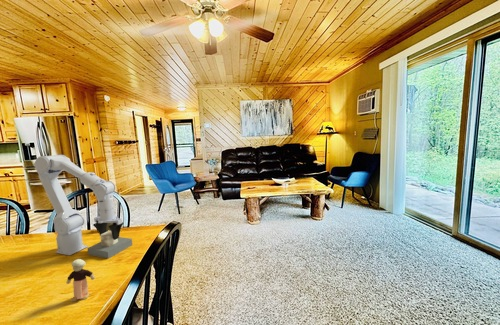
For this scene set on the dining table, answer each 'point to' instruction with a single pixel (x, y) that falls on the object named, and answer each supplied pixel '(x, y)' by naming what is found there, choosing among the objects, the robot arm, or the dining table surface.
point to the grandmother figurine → (79, 280)
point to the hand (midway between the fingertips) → (109, 237)
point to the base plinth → (109, 248)
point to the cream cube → (107, 239)
